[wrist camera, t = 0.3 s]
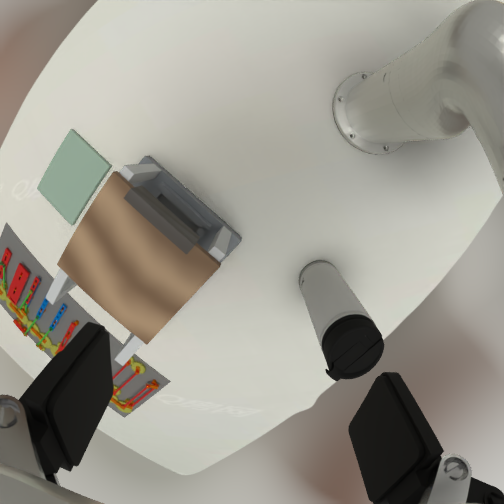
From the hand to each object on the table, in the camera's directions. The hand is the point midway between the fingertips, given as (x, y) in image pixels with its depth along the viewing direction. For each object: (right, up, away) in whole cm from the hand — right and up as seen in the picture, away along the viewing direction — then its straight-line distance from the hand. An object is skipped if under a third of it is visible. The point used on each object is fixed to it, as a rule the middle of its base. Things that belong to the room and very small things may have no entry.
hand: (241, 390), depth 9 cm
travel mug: (+10, 0, +36) cm, 38 cm away
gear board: (-38, -11, +40) cm, 57 cm away
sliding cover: (-13, +4, +22) cm, 26 cm away
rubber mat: (-28, +17, +31) cm, 45 cm away
